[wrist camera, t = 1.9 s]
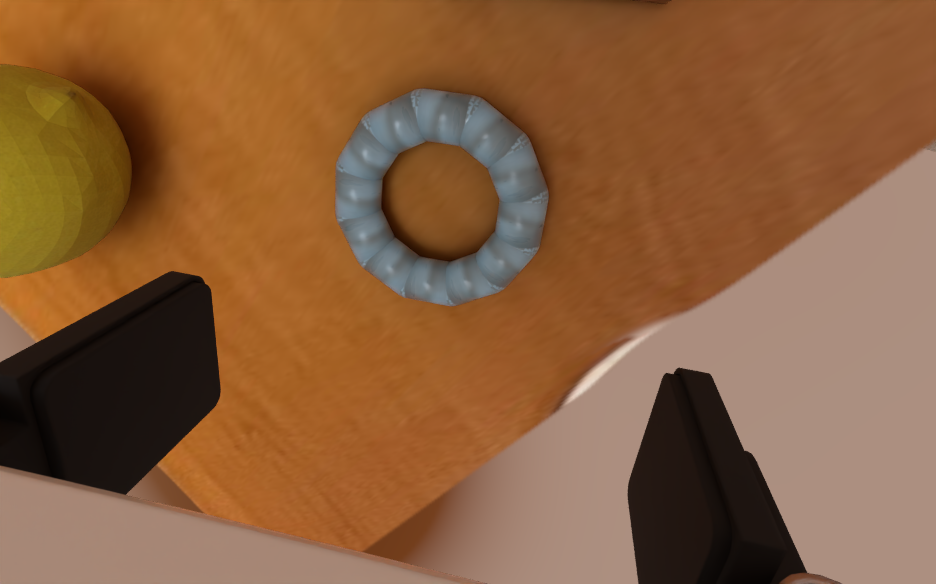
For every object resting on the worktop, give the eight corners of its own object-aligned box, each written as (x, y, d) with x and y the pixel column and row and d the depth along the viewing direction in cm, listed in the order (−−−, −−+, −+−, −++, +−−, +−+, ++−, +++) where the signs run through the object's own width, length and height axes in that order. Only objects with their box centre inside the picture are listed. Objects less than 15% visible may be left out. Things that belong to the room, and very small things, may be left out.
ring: (566, 105, 21) (564, 110, 20) (528, 308, 25) (524, 328, 23) (348, 75, 22) (328, 77, 21) (344, 274, 26) (327, 290, 25)
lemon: (95, 19, 24) (-117, 3, 16) (212, 170, 25) (68, 216, 18) (-22, 151, 28) (-234, 186, 20) (86, 274, 29) (-72, 344, 22)
